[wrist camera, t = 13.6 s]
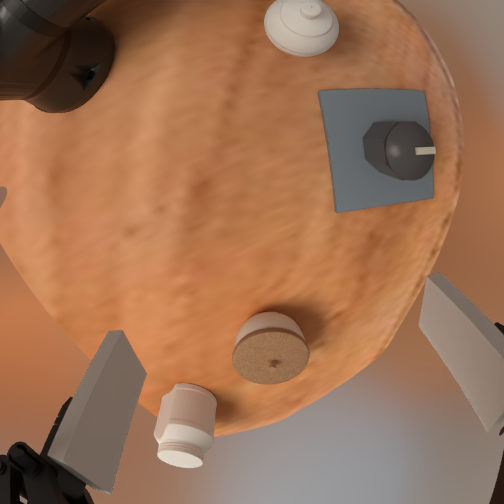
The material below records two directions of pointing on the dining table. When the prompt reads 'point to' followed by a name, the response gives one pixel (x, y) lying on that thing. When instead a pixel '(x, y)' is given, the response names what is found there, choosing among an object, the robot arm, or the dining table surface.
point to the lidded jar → (270, 349)
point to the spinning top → (301, 26)
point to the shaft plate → (352, 151)
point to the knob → (399, 149)
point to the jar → (185, 425)
